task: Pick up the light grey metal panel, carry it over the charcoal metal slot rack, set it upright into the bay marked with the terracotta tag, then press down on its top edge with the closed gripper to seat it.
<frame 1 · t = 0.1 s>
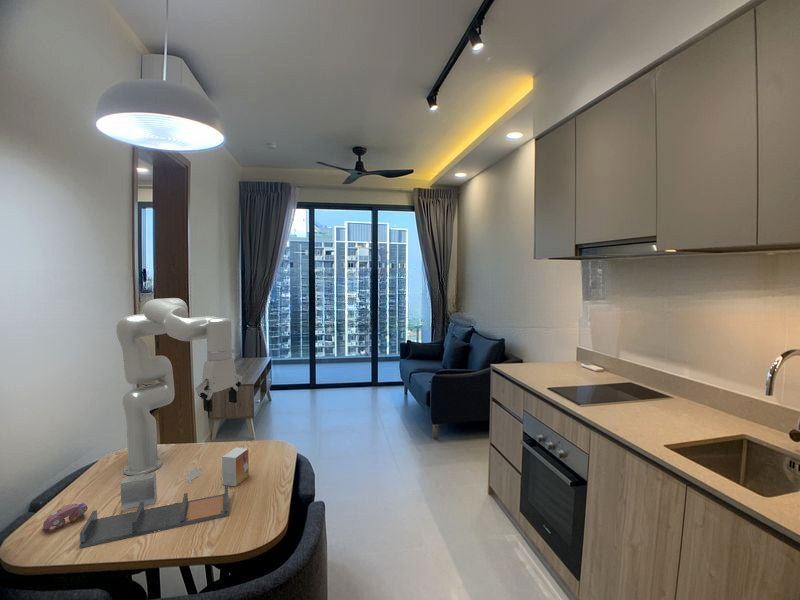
hand: (220, 406, 129), 31 cm above the table, tool pointing down, fingers open, 9 cm apart
video game controller: (66, 524, 117), on the table
small box: (236, 481, 142), on the table
car cutout: (184, 486, 139), on the table
slot rack: (162, 519, 119), on the table
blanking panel: (139, 504, 127), on the table
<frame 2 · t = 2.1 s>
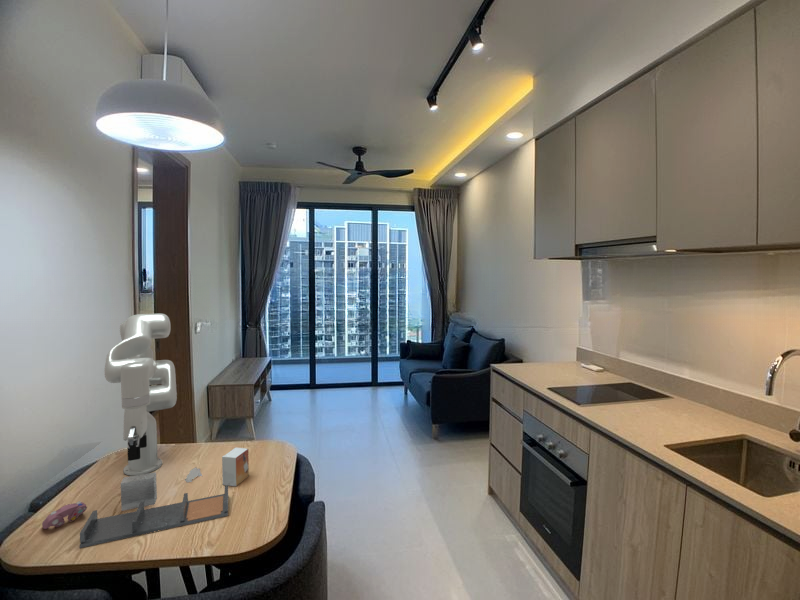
hand: (137, 453, 125), 17 cm above the table, tool pointing down, fingers open, 9 cm apart
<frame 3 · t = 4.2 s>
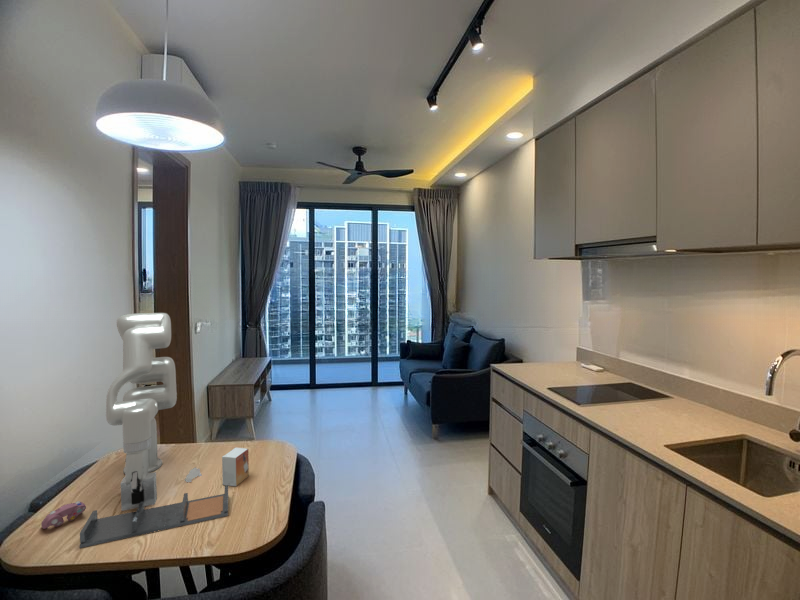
hand: (139, 498, 126), 2 cm above the table, tool pointing down, fingers closed on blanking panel, 4 cm apart
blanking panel: (139, 504, 127), on the table, touching gripper
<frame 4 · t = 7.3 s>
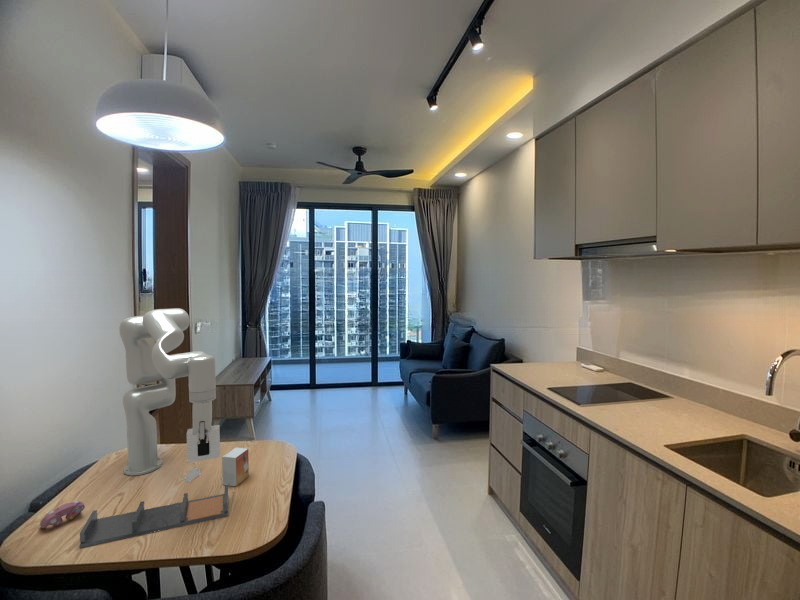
hand: (204, 451, 122), 19 cm above the table, tool pointing down, fingers closed on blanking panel, 4 cm apart
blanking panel: (204, 457, 123), point 17 cm above the table, touching gripper
when the fingers open (4 cm above the table, at t = 10.4 s): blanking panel stays where it is, resting on slot rack.
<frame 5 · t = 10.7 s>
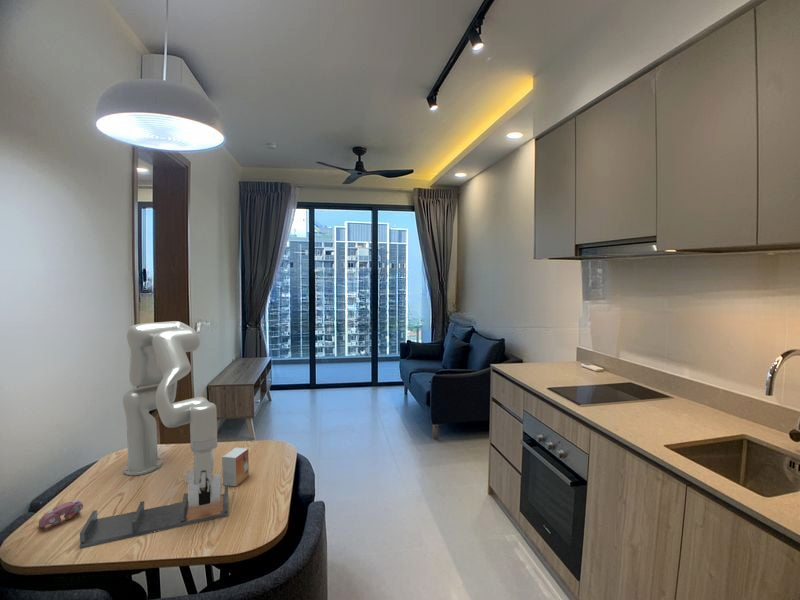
hand: (205, 497, 123), 4 cm above the table, tool pointing down, fingers open, 6 cm apart
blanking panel: (205, 506, 123), point 1 cm above the table, touching slot rack
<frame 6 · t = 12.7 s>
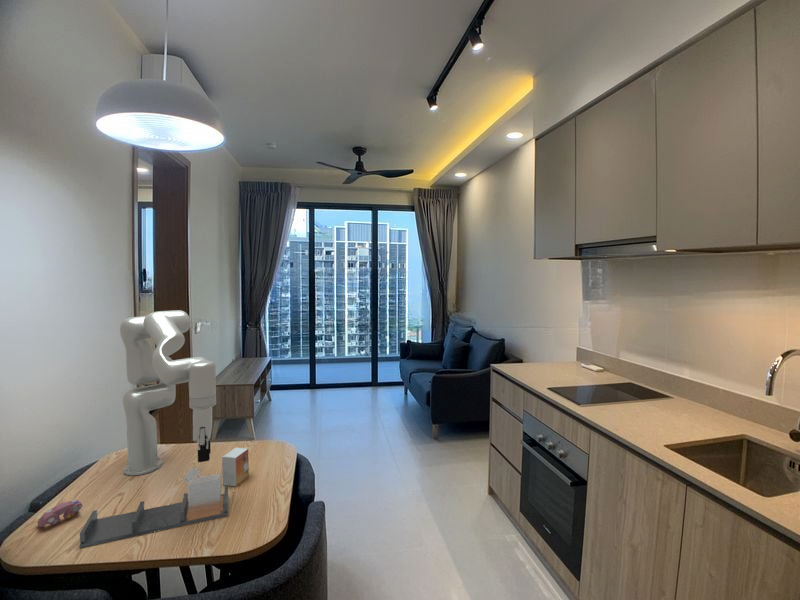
hand: (204, 456, 123), 17 cm above the table, tool pointing down, fingers open, 4 cm apart
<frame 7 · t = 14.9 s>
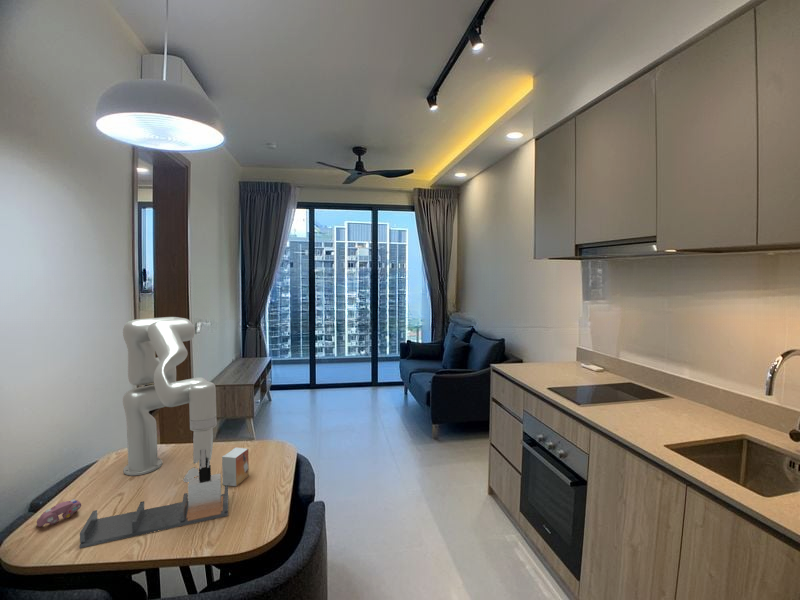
hand: (205, 479, 123), 10 cm above the table, tool pointing down, fingers closed
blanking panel: (205, 506, 123), point 1 cm above the table, touching gripper, slot rack
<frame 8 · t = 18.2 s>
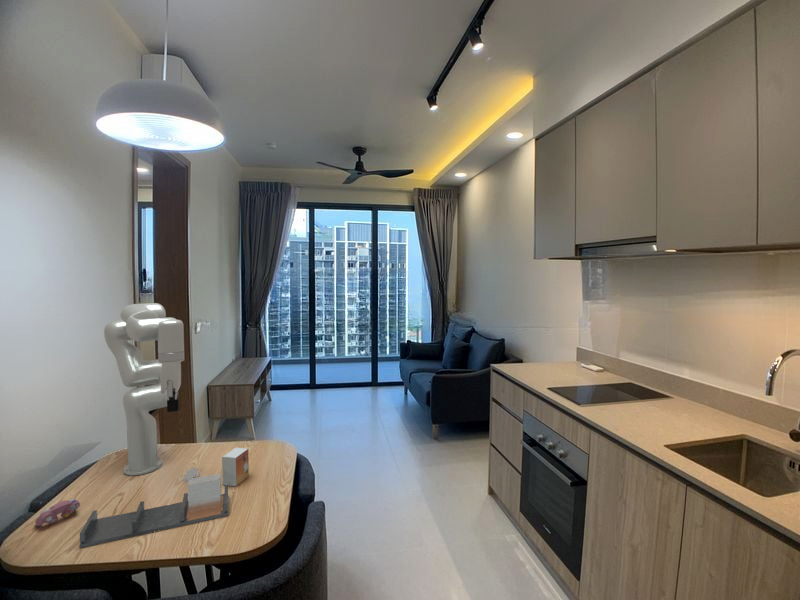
hand: (173, 410, 131), 29 cm above the table, tool pointing down, fingers closed
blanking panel: (205, 506, 123), point 1 cm above the table, touching slot rack
at the end: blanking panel 0.1 cm from the target spot on the slot rack, point 1.2 cm above the slot rack's base; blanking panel tilted 0°; the gripper is holding nothing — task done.
